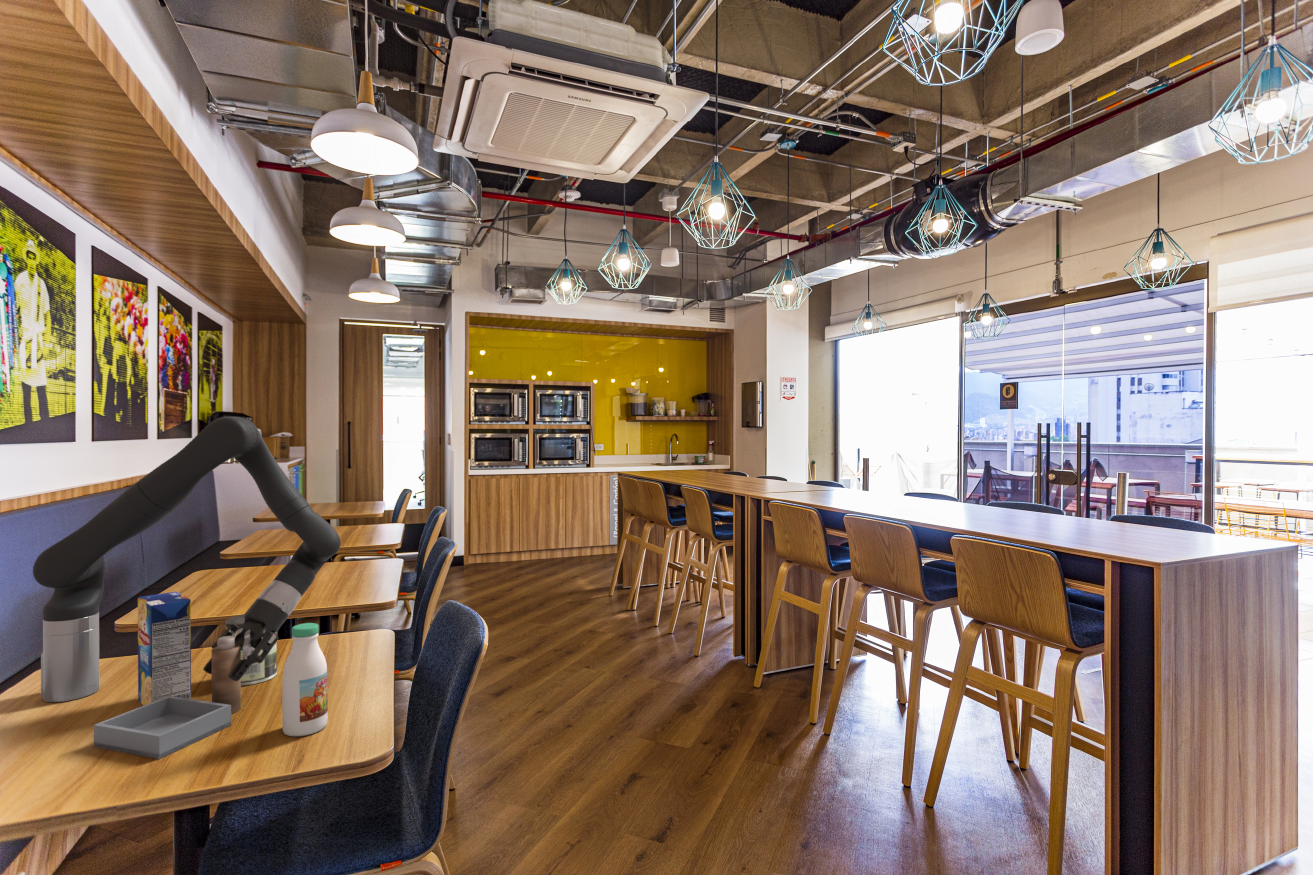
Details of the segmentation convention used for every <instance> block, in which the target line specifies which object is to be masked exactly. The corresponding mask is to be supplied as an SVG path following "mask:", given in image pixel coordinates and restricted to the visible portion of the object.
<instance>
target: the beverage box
mask: <svg viewBox="0 0 1313 875" xmlns="http://www.w3.org/2000/svg"><path fill="white" fill-rule="evenodd" d="M191 603H192V602H191V598H188V597H187V596H185V595H183V594H182V593H180V592H178V591H171V592H163V593H157V594H151V595H145V596H138V597H137V679H138V680H137V685H138V686H137V697H138V698H137V700H138V701H139V703H141V705H142V706H144V705H147V704H149V703H152V702H155V701H157V700H160V699H162V698H165V697H168V696H174V697H181V698H188V699H192V666H191V665H192V659H191V658H192V651H191V650H192V649H191V648H192V647H191V646H192V642H191V640H192V637H191V636H192V633H191V632H192V624H191V623H192V616H191V614H192V613H191V609H192V607H191V606H192V605H191Z"/></svg>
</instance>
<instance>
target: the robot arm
mask: <svg viewBox="0 0 1313 875" xmlns="http://www.w3.org/2000/svg"><path fill="white" fill-rule="evenodd" d="M231 459H234V460H236V461H237V462H238V463H239V464H240V465H241V466H242V467H243V468H244V469H245V470H246V472H248V474H249V475H250V476H251V477H252V479H253V480H254V482H255V484H256V486H257V488H258V491H259V492H260V494H261V497H262V499H263V500H264V502H265V504H266V506H267V507H268V509H270V511H271V513H272V514H273V515H274V516H275V517H276V518H277V520H278V521H279V523H281V525H282V526H283V527H284V528H285V529H286V530H287V531H289V532H293V533H295V534H296V535H297V536H298V537H299V538H300V539H301V540H302V541H303V542H302V543H301V544H300V545H299V546H298V548H297V549H296V551H295V552H294V553H293V555H292V557H291V558H290V560H289V561H288V562H287V564H285V565H284V566H283V568H282V569H281V570H280V571H279V572H278V574H277V575H276V576H275V578H274V579H273V580H272V581H271V582H270V583H269V584H268V585H267V586H266V587H265V588H264V589H263V591H261V593H260V594H259V595H258V596H257V598H256V599H255V600H254V602H253V603H252V604H251V605H250V606H249V608H248V609H247V610H246V611H245V613H244V619H245V622H244V624H243V625H241V626H240V627H238V626H236V625H235V624H231V625H230V626H229V627H228V628H227V629H226V628H225V630H224V632H222V634H221V635H220V636H219V637H218V638H221V637H225V636H234V637H235V644H239V645H240V646H241V650H244V653H243V658H242V659H243V660H241V659H240V661H239V662H238V663H237V665H236V666H235V667H234V668H233V670H232V671H231V672H230V674H229V675H228V677H229V678H230V679H232V680H234V681H238V680H239V679H240V678H241V677H242V676H243V675H244V673H245V672H246V671H247V669H248V668H249V667H250V665H253V664H255V663H259V664H260V663H262V662H263V660H264V659H265V657H266V656H267V655H268V653H269V652H270V650H271V649H272V647H273V646H274V645H275V643H276V644H277V642H278V640H279V637H278V636H277V632H278V631H279V630H280V628H281V627H282V626H283V624H284V623H285V622H286V621H287V619H288V618H289V617H290V615H291V614H292V612H293V611H294V610H295V609H296V607H297V605H298V604H299V602H300V600H301V598H302V597H303V596H304V594H305V593H306V592H307V591H308V589H309V588H310V586H311V585H312V584H313V583H314V581H315V578H316V575H317V574H318V573H319V571H320V570H321V569H322V567H323V566H324V565H325V563H326V562H327V561H328V560H329V559H330V558H331V557H333V556H334V555H336V554H337V553H338V552H339V551H340V548H341V546H342V545H341V543H342V542H341V538H340V535H339V533H338V531H337V530H336V529H335V528H334V527H333V526H332V525H331V524H330V523H329V522H328V521H327V520H325V518H323V516H321V515H320V514H318V513H317V512H316V511H315V510H314V509H313V508H312V506H311V505H310V504H309V502H308V501H307V500H306V498H305V497H304V496H303V495H302V494H301V492H300V491H299V490H298V489H297V487H296V486H295V485H294V484H293V483H292V481H291V480H290V479H289V478H288V476H287V475H286V474H285V471H283V469H282V468H281V467H280V465H279V463H278V462H277V461H276V459H275V457H274V456H273V454H272V452H271V451H270V449H269V447H268V445H267V444H266V441H265V440H264V438H263V436H262V434H261V433H260V430H259V429H258V428H257V426H256V425H255V423H254V422H252V421H251V420H249V419H247V418H244V417H240V416H223V417H219V418H216V419H214V420H212V421H211V422H210V423H209V424H207V425H206V426H205V427H204V428H203V429H201V430H200V432H199V433H198V434H197V435H195V436H194V437H193V439H192V440H190V441H189V442H188V443H187V444H186V445H185V446H184V447H183V448H182V449H180V451H178V452H177V453H175V454H174V455H173V456H172V457H170V458H169V459H167V460H165V461H164V462H162V463H161V464H160V465H158V466H157V467H156V468H154V469H153V470H151V471H150V472H149V473H147V474H145V475H144V476H143V477H142V478H140V479H139V480H138V481H136V482H135V483H134V484H132V485H130V487H128V489H127V488H126V490H125V491H124V492H123V493H121V494H120V495H119V496H118V497H117V498H115V499H114V500H112V501H111V502H110V503H109V504H108V505H106V506H105V507H104V508H102V510H100V511H99V512H98V513H97V514H96V515H94V517H92V518H91V519H90V520H89V521H88V522H86V523H85V524H84V525H83V526H81V527H80V528H78V529H76V530H75V531H74V532H72V533H70V534H69V535H66V537H63V538H62V539H61V540H59V541H57V542H55V544H52V545H51V546H50V547H48V548H45V549H44V551H42V552H41V553H40V554H39V555H38V556H37V558H36V559H35V561H34V563H33V567H32V575H33V578H34V579H35V581H36V583H38V584H39V585H41V586H42V587H46V588H51V589H54V590H53V593H52V595H51V597H50V599H49V600H48V601H47V603H46V604H44V606H43V607H42V608H43V609H42V652H41V654H40V697H41V698H42V700H43V701H44V702H47V703H60V702H68V701H73V700H77V699H82V698H84V697H88V696H91V695H93V694H95V693H96V692H98V691H99V690H100V604H101V602H102V599H103V596H104V591H105V590H104V589H105V587H104V586H105V572H106V571H105V570H106V569H105V567H106V565H105V555H106V554H107V553H108V552H110V551H112V549H114V548H115V547H117V546H120V544H123V543H124V542H126V541H128V540H130V539H132V538H133V537H135V536H137V535H139V534H140V533H142V532H144V531H146V530H147V529H149V528H151V527H153V526H154V525H156V524H157V523H159V522H160V521H161V520H163V519H164V518H165V517H167V516H168V515H169V514H170V513H172V512H173V511H175V510H176V509H177V508H178V507H179V506H180V505H181V504H182V503H183V502H184V501H185V500H186V499H187V498H188V497H189V495H190V494H191V493H192V491H194V489H195V487H196V486H197V485H198V484H199V483H200V481H201V480H202V479H203V478H204V477H205V476H207V475H208V474H209V473H210V472H212V471H213V470H215V469H217V467H219V466H221V465H223V464H224V463H225V462H228V461H229V460H231ZM274 633H276V635H274ZM215 647H217V640H216V641H215V642H213V644H212V645H211V649H213V648H215ZM261 649H262V650H263V652H262V654H261V655H260V656H259V655H258V654H260V651H261ZM203 672H205V673H207V674H209V675H212V657H211V658H210V659H209V660H208V661H207V663H206V664H205V665H204V667H203Z"/></svg>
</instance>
